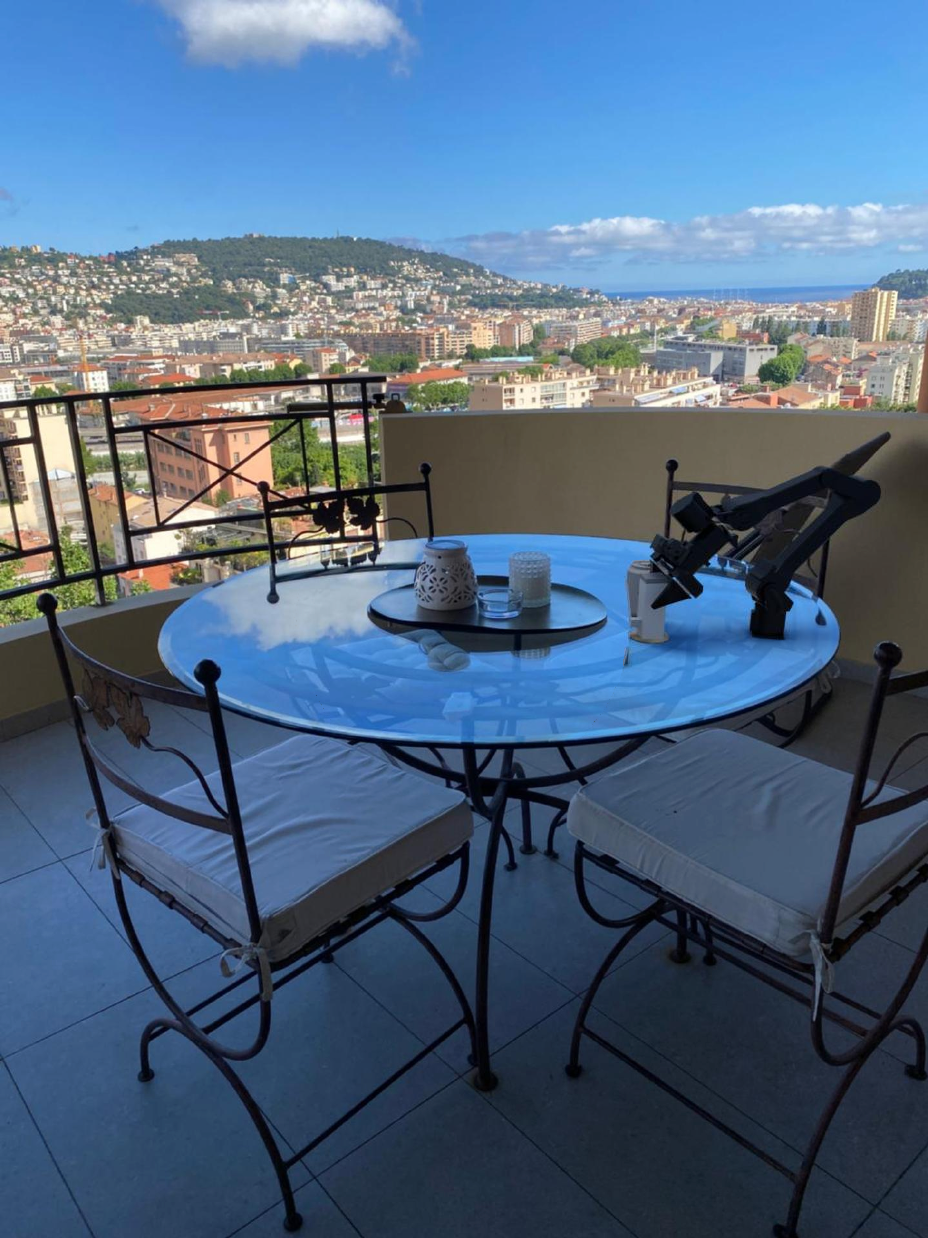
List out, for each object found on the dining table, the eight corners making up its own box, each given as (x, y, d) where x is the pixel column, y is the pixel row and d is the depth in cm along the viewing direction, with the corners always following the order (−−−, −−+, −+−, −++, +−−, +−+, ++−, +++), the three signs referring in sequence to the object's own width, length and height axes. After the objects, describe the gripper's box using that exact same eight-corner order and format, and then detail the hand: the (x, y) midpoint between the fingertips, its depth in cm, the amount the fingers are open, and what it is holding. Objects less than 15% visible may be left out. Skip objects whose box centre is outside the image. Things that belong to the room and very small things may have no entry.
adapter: (656, 631, 176) (661, 572, 171) (663, 638, 171) (667, 578, 167) (622, 632, 175) (625, 573, 171) (628, 639, 171) (631, 579, 167)
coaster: (669, 632, 176) (669, 630, 176) (667, 645, 169) (667, 643, 169) (631, 629, 178) (632, 627, 178) (628, 641, 171) (628, 639, 171)
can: (658, 619, 185) (662, 567, 181) (624, 617, 186) (627, 566, 182) (657, 609, 191) (661, 559, 188) (625, 607, 193) (628, 557, 189)
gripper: (662, 512, 175) (608, 564, 177) (692, 531, 157) (632, 588, 160) (695, 547, 178) (642, 597, 180) (728, 570, 160) (669, 625, 163)
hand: (645, 601), depth 171 cm, fingers open, 9 cm apart
